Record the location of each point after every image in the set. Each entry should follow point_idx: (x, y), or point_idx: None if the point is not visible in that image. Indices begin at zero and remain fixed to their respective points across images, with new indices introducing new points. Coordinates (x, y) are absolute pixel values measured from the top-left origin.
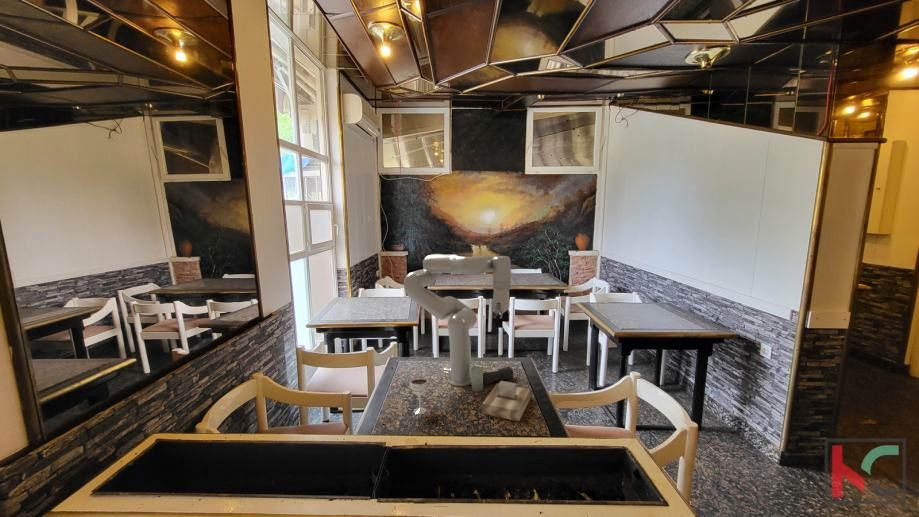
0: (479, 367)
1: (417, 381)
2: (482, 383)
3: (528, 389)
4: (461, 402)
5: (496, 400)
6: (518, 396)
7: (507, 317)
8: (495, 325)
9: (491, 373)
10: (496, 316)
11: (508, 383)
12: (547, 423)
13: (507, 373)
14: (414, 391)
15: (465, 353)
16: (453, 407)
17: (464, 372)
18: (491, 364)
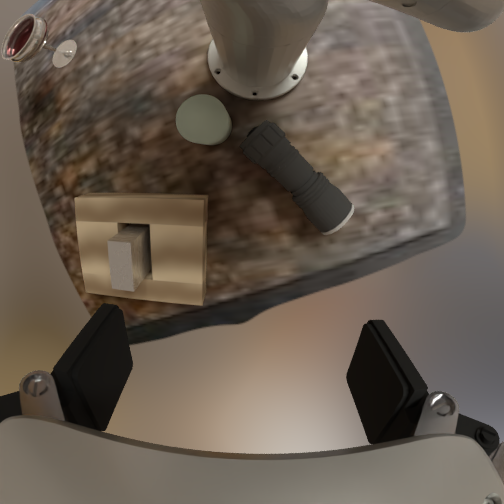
0: (219, 123)
1: (41, 19)
2: (205, 144)
3: (198, 301)
4: (118, 116)
5: (101, 229)
6: (145, 281)
7: (360, 404)
8: (99, 315)
9: (274, 160)
10: (12, 406)
11: (123, 270)
12: None
13: (307, 215)
14: (15, 46)
15: (223, 41)
16: (91, 110)
17: (225, 65)
18: (413, 134)
